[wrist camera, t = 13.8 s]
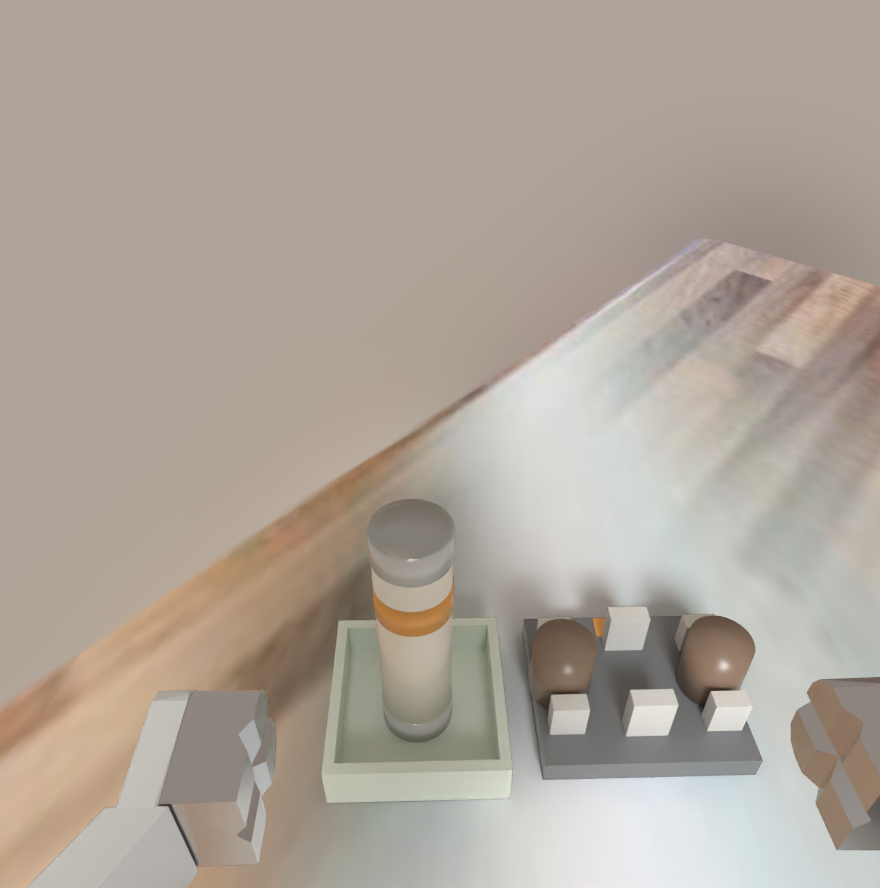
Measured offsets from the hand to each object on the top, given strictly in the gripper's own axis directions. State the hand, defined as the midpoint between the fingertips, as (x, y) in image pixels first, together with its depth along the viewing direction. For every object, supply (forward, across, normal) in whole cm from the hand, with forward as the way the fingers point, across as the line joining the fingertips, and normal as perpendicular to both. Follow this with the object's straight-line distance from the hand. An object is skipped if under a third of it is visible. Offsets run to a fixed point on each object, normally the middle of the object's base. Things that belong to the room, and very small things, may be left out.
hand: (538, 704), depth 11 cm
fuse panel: (+19, -11, +29) cm, 36 cm away
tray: (+18, +2, +30) cm, 35 cm away
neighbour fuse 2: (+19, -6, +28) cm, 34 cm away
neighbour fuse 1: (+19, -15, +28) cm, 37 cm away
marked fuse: (+18, +2, +29) cm, 34 cm away
